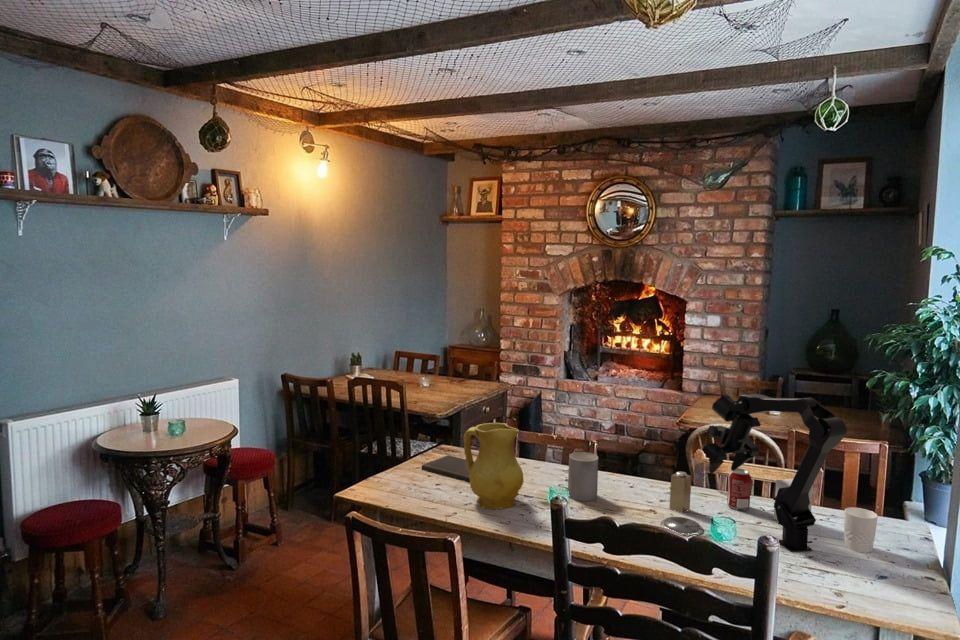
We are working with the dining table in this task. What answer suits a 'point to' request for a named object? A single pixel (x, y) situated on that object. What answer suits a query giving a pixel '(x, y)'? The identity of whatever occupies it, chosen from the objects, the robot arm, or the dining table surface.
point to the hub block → (680, 492)
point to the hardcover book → (449, 467)
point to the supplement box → (787, 483)
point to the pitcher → (494, 465)
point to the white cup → (859, 529)
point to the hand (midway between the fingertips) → (721, 471)
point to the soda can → (739, 489)
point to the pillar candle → (583, 476)
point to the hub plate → (682, 525)
